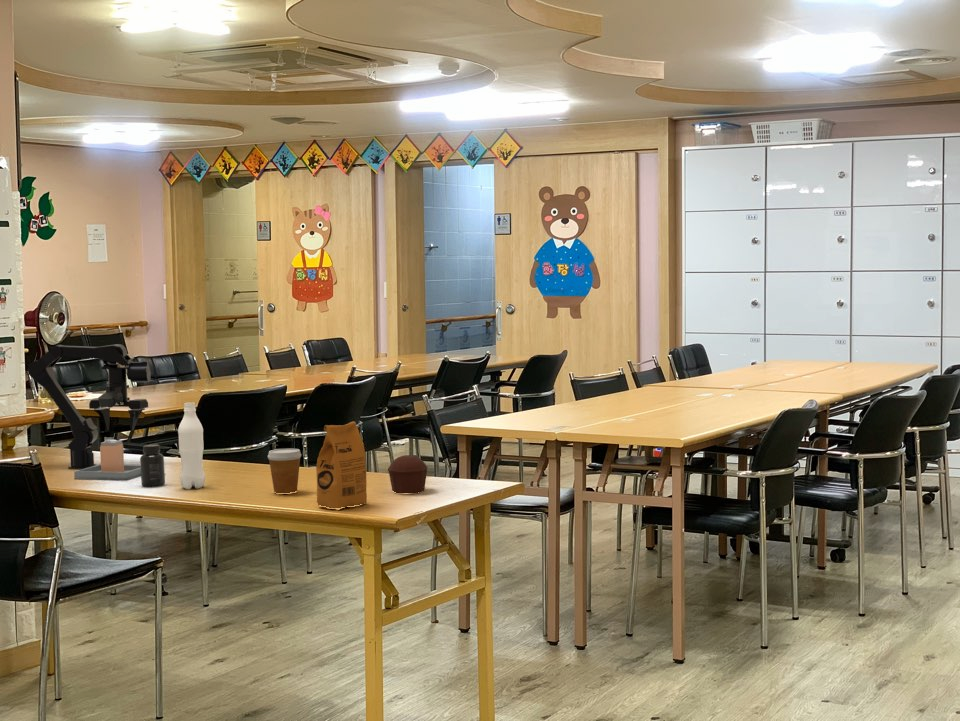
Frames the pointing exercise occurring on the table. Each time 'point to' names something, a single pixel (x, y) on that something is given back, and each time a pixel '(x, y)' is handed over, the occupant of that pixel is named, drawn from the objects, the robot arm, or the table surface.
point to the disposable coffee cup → (284, 469)
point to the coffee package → (341, 467)
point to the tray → (108, 473)
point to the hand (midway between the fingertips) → (119, 430)
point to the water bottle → (191, 448)
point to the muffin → (407, 474)
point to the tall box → (112, 456)
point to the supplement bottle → (152, 467)
